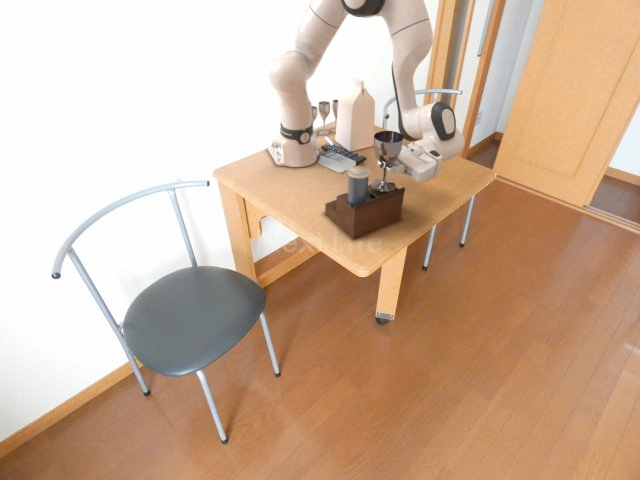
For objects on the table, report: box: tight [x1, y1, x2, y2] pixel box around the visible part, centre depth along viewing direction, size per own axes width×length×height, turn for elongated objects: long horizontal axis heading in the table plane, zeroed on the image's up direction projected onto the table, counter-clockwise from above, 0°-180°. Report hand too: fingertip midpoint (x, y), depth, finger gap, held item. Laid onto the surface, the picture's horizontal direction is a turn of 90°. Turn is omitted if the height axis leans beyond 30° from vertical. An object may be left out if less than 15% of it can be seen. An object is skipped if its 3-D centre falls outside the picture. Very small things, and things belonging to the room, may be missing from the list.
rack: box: [324, 183, 406, 240], centre depth 113 cm, size 15×18×12 cm
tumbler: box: [346, 165, 371, 205], centre depth 103 cm, size 6×6×9 cm
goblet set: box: [311, 99, 339, 137], centre depth 163 cm, size 28×6×13 cm, turn 112°
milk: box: [334, 76, 376, 153], centre depth 149 cm, size 12×12×26 cm
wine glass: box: [370, 130, 405, 192], centre depth 104 cm, size 8×8×15 cm
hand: (383, 167), depth 105 cm, fingers closed on wine glass, 3 cm apart
